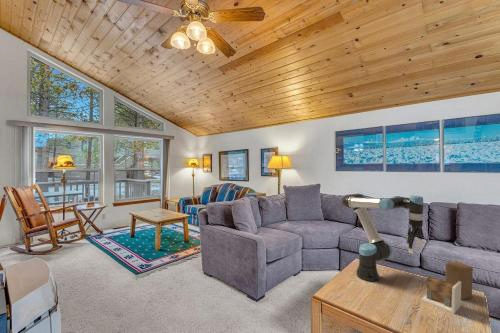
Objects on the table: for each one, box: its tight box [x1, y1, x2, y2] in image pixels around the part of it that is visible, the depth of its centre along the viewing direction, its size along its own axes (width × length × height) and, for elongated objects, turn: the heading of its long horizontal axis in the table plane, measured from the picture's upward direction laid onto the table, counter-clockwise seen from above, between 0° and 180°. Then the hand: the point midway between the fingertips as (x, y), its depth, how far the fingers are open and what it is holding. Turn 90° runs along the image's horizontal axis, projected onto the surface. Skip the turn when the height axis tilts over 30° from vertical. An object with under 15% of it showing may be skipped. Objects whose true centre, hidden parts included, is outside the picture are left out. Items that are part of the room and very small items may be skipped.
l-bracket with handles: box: [420, 281, 462, 315], centre depth 147 cm, size 16×12×15 cm
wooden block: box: [444, 260, 474, 301], centre depth 155 cm, size 10×10×20 cm
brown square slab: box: [426, 275, 454, 307], centre depth 147 cm, size 12×4×12 cm, turn 35°
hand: (415, 250), depth 161 cm, fingers open, 13 cm apart
